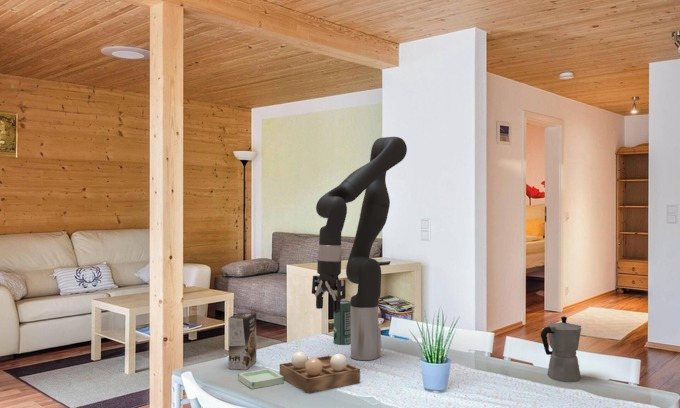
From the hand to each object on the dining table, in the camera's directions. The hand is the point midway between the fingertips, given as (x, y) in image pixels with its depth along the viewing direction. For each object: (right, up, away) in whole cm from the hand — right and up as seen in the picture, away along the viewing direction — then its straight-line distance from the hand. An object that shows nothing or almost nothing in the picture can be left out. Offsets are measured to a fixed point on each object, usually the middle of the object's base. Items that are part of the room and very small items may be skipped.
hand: (327, 310), depth 189 cm
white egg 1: (-8, -12, -13) cm, 19 cm away
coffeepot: (+69, -18, -13) cm, 73 cm away
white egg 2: (+3, -12, -15) cm, 20 cm away
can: (+5, -17, +29) cm, 34 cm away
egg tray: (-2, -18, -14) cm, 23 cm away
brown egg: (-4, -12, -20) cm, 24 cm away
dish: (-19, -18, -15) cm, 30 cm away
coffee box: (-27, -18, +1) cm, 32 cm away
